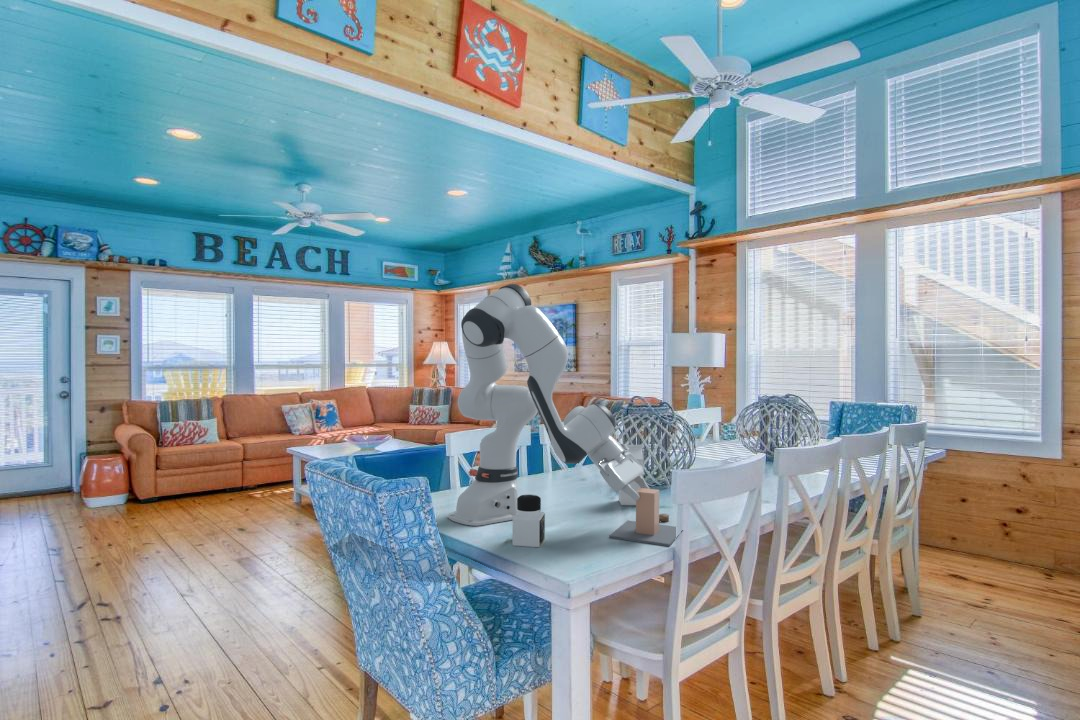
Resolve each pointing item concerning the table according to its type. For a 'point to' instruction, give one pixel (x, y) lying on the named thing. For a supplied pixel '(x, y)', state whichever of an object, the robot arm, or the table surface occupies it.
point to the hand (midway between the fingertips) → (643, 495)
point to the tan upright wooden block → (647, 511)
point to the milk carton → (623, 497)
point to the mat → (628, 532)
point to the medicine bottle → (528, 522)
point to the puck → (663, 517)
